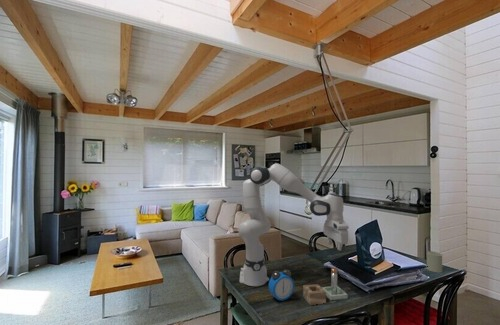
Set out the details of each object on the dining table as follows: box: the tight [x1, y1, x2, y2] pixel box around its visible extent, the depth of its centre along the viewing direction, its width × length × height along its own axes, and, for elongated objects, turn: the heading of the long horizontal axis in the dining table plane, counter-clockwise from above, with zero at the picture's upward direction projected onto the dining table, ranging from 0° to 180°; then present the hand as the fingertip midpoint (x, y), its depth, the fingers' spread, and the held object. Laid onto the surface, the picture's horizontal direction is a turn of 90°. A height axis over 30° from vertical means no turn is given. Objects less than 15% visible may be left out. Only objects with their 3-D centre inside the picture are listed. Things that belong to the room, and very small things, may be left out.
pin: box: [330, 267, 338, 295], centre depth 141 cm, size 3×3×14 cm
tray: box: [321, 285, 349, 302], centre depth 141 cm, size 10×10×2 cm
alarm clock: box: [268, 269, 295, 302], centre depth 137 cm, size 13×6×15 cm, turn 113°
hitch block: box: [302, 283, 327, 306], centre depth 135 cm, size 9×9×6 cm
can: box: [425, 250, 443, 274], centre depth 177 cm, size 9×9×12 cm
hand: (334, 247), depth 141 cm, fingers open, 8 cm apart
